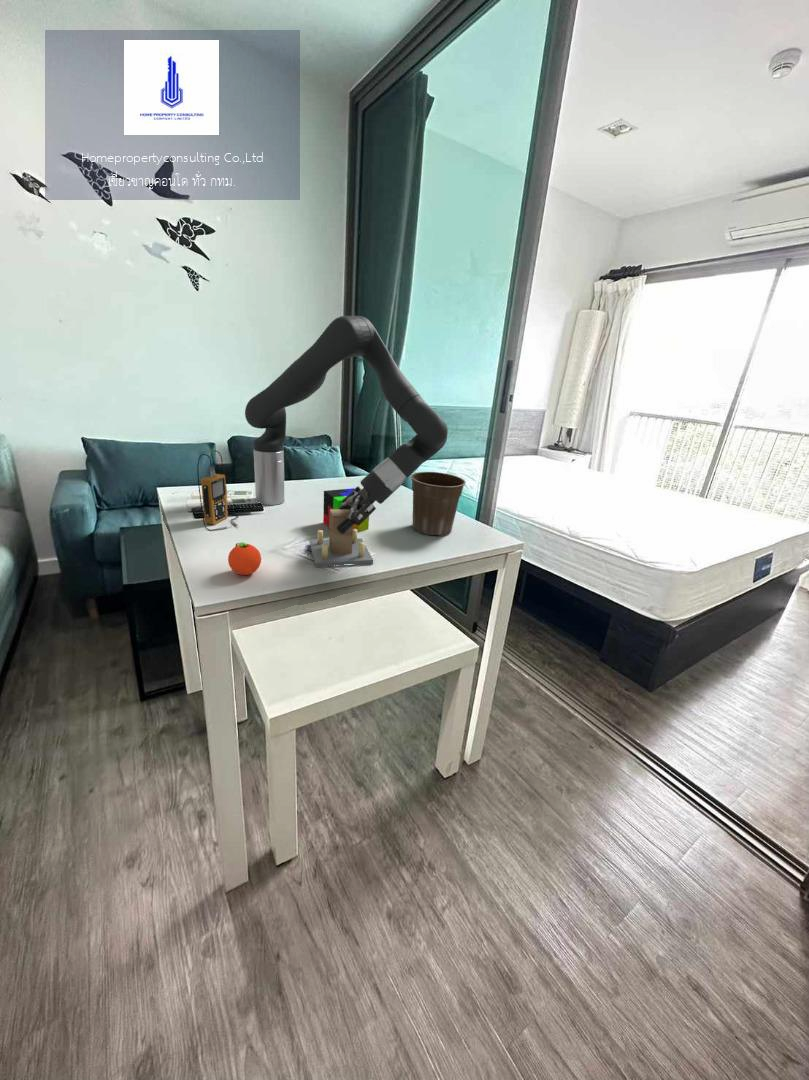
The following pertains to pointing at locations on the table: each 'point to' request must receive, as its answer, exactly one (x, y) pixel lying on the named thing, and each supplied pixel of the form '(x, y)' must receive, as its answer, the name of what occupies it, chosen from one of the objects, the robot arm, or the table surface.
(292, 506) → the table surface
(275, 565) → the table surface
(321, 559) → the pin plate
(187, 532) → the table surface
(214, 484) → the multimeter
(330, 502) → the puzzle toy
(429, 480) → the plant pot
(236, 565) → the clementine
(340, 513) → the walnut block
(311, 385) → the robot arm
